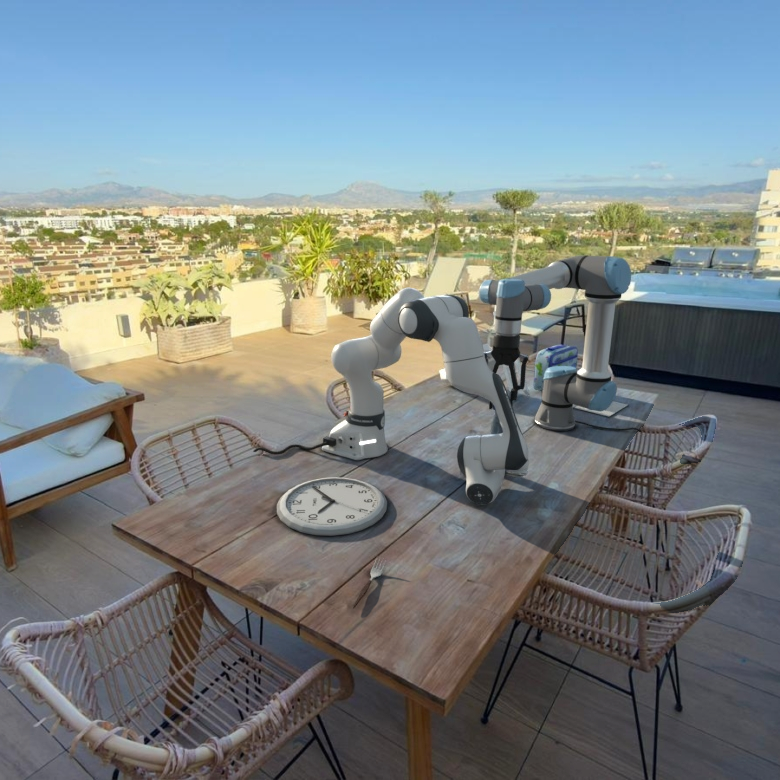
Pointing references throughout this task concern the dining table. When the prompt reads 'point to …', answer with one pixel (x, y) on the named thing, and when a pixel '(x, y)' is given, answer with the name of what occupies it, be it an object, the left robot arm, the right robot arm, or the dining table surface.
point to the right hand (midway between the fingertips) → (500, 408)
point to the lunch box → (553, 361)
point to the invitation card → (609, 411)
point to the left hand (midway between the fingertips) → (497, 451)
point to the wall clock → (331, 506)
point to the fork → (374, 573)
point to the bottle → (496, 425)
